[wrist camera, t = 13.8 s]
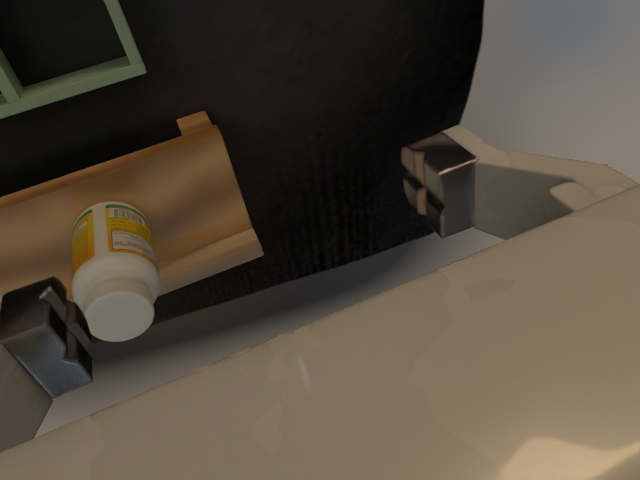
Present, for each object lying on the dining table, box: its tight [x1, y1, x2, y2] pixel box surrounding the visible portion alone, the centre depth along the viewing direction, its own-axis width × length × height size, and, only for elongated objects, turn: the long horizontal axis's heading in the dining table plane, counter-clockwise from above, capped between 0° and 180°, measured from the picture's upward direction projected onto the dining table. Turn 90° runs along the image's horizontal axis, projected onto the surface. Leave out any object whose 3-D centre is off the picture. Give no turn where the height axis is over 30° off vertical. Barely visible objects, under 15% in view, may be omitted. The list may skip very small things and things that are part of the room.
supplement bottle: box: [71, 201, 160, 342], centre depth 35 cm, size 5×5×10 cm
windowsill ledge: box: [0, 111, 264, 312], centre depth 40 cm, size 10×22×8 cm, turn 101°
